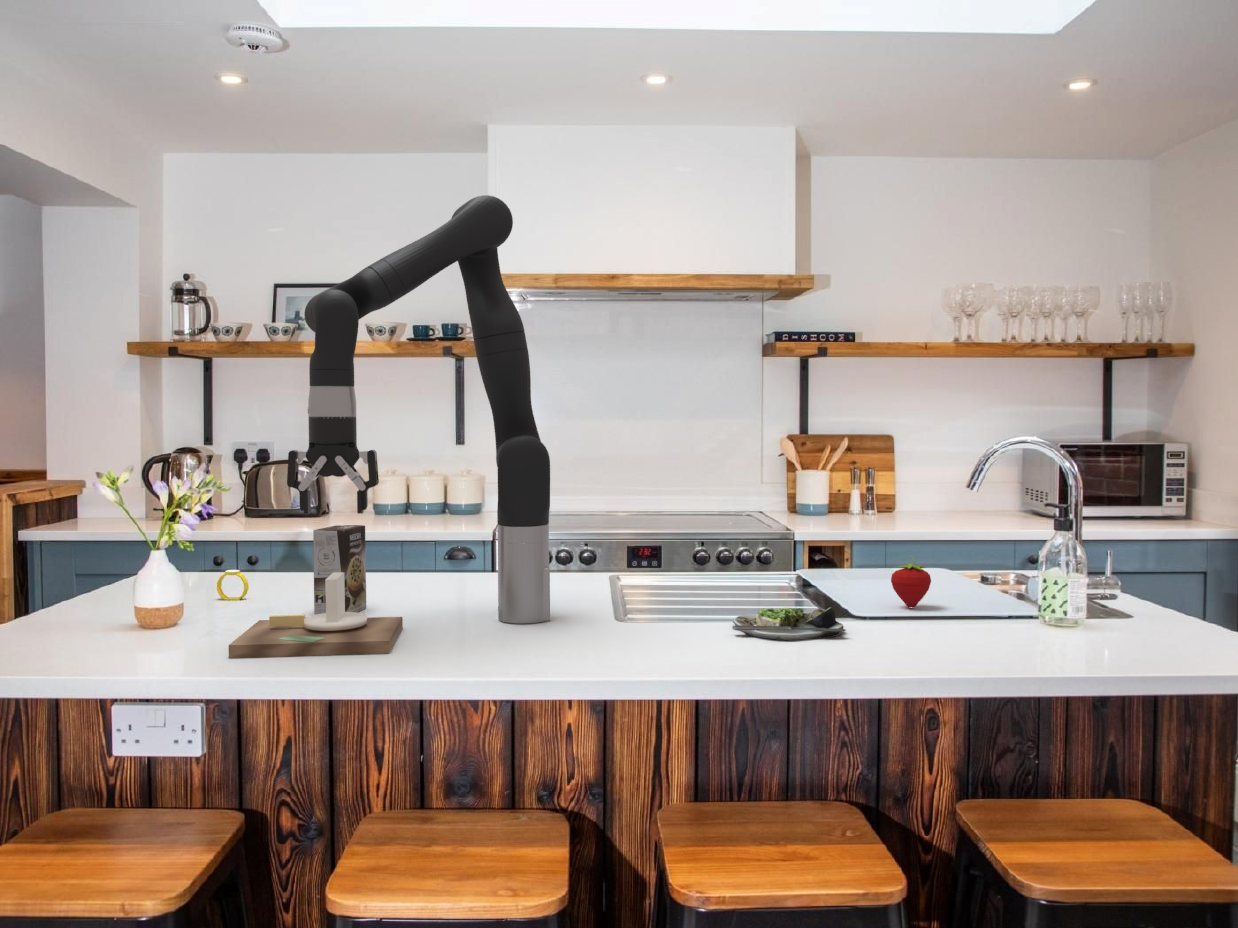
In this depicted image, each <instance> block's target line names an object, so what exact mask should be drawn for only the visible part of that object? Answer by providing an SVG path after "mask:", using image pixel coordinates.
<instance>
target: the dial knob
mask: <svg viewBox="0 0 1238 928" xmlns="http://www.w3.org/2000/svg"><path fill="white" fill-rule="evenodd" d="M325 592H326V613H322V614H317V615H314V614H312V615H309V616H307V617H306V614H279V615H278V614H277V615H275V614H274V615H273V614H272V615H269V617H268V620H269V626H303V625H304V627H305V628H307V629H310V630H318V631H335V630H346V629H352V628H357V627H361V626H363V625H365V624H367V618H368V615H367V614H365V613H362V612H345V584H344V572H337V573H332V574H331V575H330V576H329V577H328V578H327V579H325Z"/></svg>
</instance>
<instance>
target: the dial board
mask: <svg viewBox="0 0 1238 928" xmlns="http://www.w3.org/2000/svg"><path fill="white" fill-rule="evenodd" d="M403 619H404V618H403V616H380V617H379V616H377V617H376V616H375V617H371V616H370V617H367V624H365V625H363V626H361V627H357V628H352V629H346V630H335V631H318V630H310V629H307V628H305V627H304V625H303V626H269V619H259V620H258V621H257V622H255V623H254V624H253V625H252V626H250V627H249V628H248V629H246V630H245V631H244V632H243V633H241V635H239V636H238V637H237V638H235V639H234V640H233V641H232V642H231V643H229V644H228V658H229V659H239V658H240V659H242V658H244V659H246V658H251V659H252V658H273V657H274V658H277V657H278V658H279V657H280V658H281V657H286V658H287V657H311V656H312V657H316V656H318V657H320V656H346V655H347V656H348V655H349V656H352V655H375V654H376V655H379V654H380V655H381V654H382V655H383V654H384V655H385V654H386V655H387V654H390V652H392V649H393V647H394V646H395V643H396V642H397V640H398V638H399V636H400V634H401V632H402V630H403Z"/></svg>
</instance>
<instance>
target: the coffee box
mask: <svg viewBox="0 0 1238 928" xmlns="http://www.w3.org/2000/svg"><path fill="white" fill-rule="evenodd" d="M312 532H313V533H312V534H313V535H312V536H313V537H312V539H313V541H312V542H313V615H317V614H322V613H326V592H325V579H327V578H328V577H329V576H330V575H331V574H332V573H337V572H344V584H345V612H357V613H360V612H361V611H364V610H366V609H367V571H366V570H367V568H366V566H367V561H366V560H367V559H366V558H367V557H366V556H367V555H366V525H364V524H363V525H362V524H361V525H360V524H352V525H351V524H350V525H349V524H347V525H346V524H345V525H332V526H328V527H322V528H316V529H313V531H312Z"/></svg>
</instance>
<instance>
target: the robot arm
mask: <svg viewBox="0 0 1238 928" xmlns="http://www.w3.org/2000/svg"><path fill="white" fill-rule="evenodd" d="M513 220H514V219H513V214H512V212H511V209H510V208H509V206H508V205H507V204H506V203H505V202H504V201H503V200H502V199H500V198H498V197H496V196H494V195H490V194H489V195H479V196H475V197H473V198H471V199H469V200H468V201H466V202H465V203H463V204H462V205H461V206H459V207H458V208H457V209H456V210H455V211H454V213H453V214H452V216H451V218H450V219H449V220H448V221H447V222H446V223H444V224H442V225H441V226H439V227H438V228H436V229H435V230H433V231H431V232H430V233H428V234H425V235H424V236H423V237H420V238H419V239H417V240H414V241H412V242H410V243H408V244H407V245H405V246H403V247H401V248H399V249H397V250H395V251H393V252H391V253H388V254H387V255H386V256H383V257H381V258H380V259H378V260H376V261H375V262H373V263H371V264H370V265H367V266H366V267H365V268H363V269H361V270H360V271H359V272H357V273H356V274H355V275H353V276H351V277H350V278H348V279H346V280H344V281H341V282H339V283H337V284H335V285H333V286H330V287H329V288H327V289H326V290H323V291H322V292H320V293H317V294H316V295H314V296H313V297H311V298H310V300H309V301H308V302H307V303H306V306H305V308H304V320H305V321H304V322H305V323H306V325H307V326H308V328H309V329H310V330H311V331H312V332H313V333H314V349H313V352H312V353H311V355H310V358H309V392H308V398H307V399H308V405H307V406H308V407H307V414H308V449H307V450H306V451H302V450H299V451H298V450H296V449H292V450H289V452H288V457H287V474H286V475H287V476H286V477H287V478H286V479H287V480H286V485H287V487H289V488H292V489H295V490H297V491H298V492H299V510H300V511H301V512H303V514H304V515H311V511H312V507H311V506H312V505H311V504H312V503H311V502H312V501H311V500H312V497H311V490H310V487H311V486H312V484H313V483H314V482H315V481H316V480H317V479H318V477H320V476H321V477H323V478H326V477H327V478H328V477H332V476H333V477H337V478H338V477H339V478H341V477H344V476H347V477H348V478H349V480H350V481H352V482H353V484H354V485H355V486H356V488H357V489H358V490H357V492H356V498H357V499H356V503H357V504H356V505H357V507H356V508H357V510H356V511H357V514H364V511H366V510H367V508H368V505H369V504H368V499H369V498H368V490H369V489H371V488H374V487H376V486H378V484H379V481H380V480H379V468H378V465H379V464H378V455H377V454H378V453H377V451H376V450H375V449H370V450H366V451H364V450H363V451H360V450H359V449H358V446H357V445H358V443H357V440H358V439H357V438H358V437H357V436H358V435H357V434H358V433H357V398H356V392H355V364H354V357H355V353H356V352H355V351H356V349H357V348H356V347H357V340H358V333H359V320H360V319H362V318H364V317H365V316H367V315H368V314H370V313H372V312H376V311H379V310H382V309H383V308H386V307H387V306H389V305H391V304H392V303H394V302H396V301H398V300H399V299H401V298H403V297H405V296H406V295H407V294H410V293H411V292H412V291H414V290H415V289H417V288H418V287H420V286H422V284H424V283H426V282H427V281H429V280H430V279H432V277H434V276H436V275H437V274H438V273H440V272H442V271H443V270H445V269H446V268H448V267H449V266H452V265H453V264H455V263H458V267H459V270H460V274H461V277H462V281H463V285H464V291H465V296H466V302H467V303H466V305H467V309H468V310H467V311H468V314H469V319H470V327H471V331H472V332H471V333H472V339H473V344H474V348H475V349H474V350H475V353H476V354H475V356H476V360H477V364H478V369H479V372H480V377H481V380H482V384H483V387H484V390H485V393H486V395H487V400H488V402H489V406H490V410H491V413H492V419H493V427H494V428H493V429H494V438H495V461H496V467H497V507H496V509H497V510H496V511H497V512H496V513H497V515H496V516H497V520H496V522H497V598H498V599H497V610H498V612H497V614H498V615H497V616H498V617H497V618H498V620H499V621H500V622H504V623H508V624H534V623H541V622H550V621H551V594H550V593H551V577H550V576H551V572H550V571H551V568H550V525H549V523H550V509H551V460H550V454H549V451H548V449H547V447H546V446H545V444H544V443H543V442H542V441H541V438H540V435H539V431H538V427H537V424H536V420H535V417H534V411H533V408H532V391H531V389H532V388H531V387H532V386H531V385H532V384H531V379H532V378H531V364H530V354H529V349H528V342H527V337H526V332H525V328H524V324H523V323H524V322H523V321H522V318H521V315H520V313H519V310H518V309H517V307H516V305H515V303H514V301H513V299H512V298H511V295H510V294H509V292H508V290H507V288H506V287H505V284H504V281H503V280H504V279H503V277H502V272H501V268H500V261H499V260H500V259H499V252H498V247H500V246H501V245H502V244H504V243H505V242H506V241H507V240H508V238H509V237H510V235H511V234H512V231H513V223H514V221H513ZM305 458H306V460H307V462H308V463H309V464H310V465H311V468H310V470H308V472H307V473H306V475H305V477H304V478H303V479H302V481H301V480H299V470H300V469H299V466H300V464H302V463H303V462H304V459H305ZM360 458H361V459H362V461H363V463H364V464H366V465H367V469H368V470H367V472H368V480H367V481H366V480H365V479H364V478H363V477H362V475H361V474H360V472H359V471H358V470H357V469H356V467H355V465H356V464H357V462H358V461H359V459H360Z"/></svg>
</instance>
